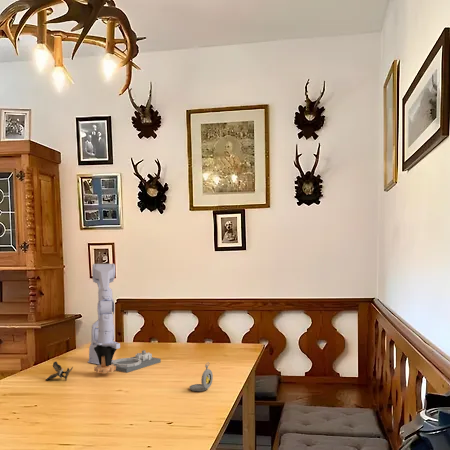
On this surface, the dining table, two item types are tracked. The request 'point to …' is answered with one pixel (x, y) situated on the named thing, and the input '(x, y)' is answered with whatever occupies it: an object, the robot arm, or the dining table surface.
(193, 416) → the dining table surface
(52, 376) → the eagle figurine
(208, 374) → the pocket watch
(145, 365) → the carrier plate
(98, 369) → the planet gear
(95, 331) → the robot arm
